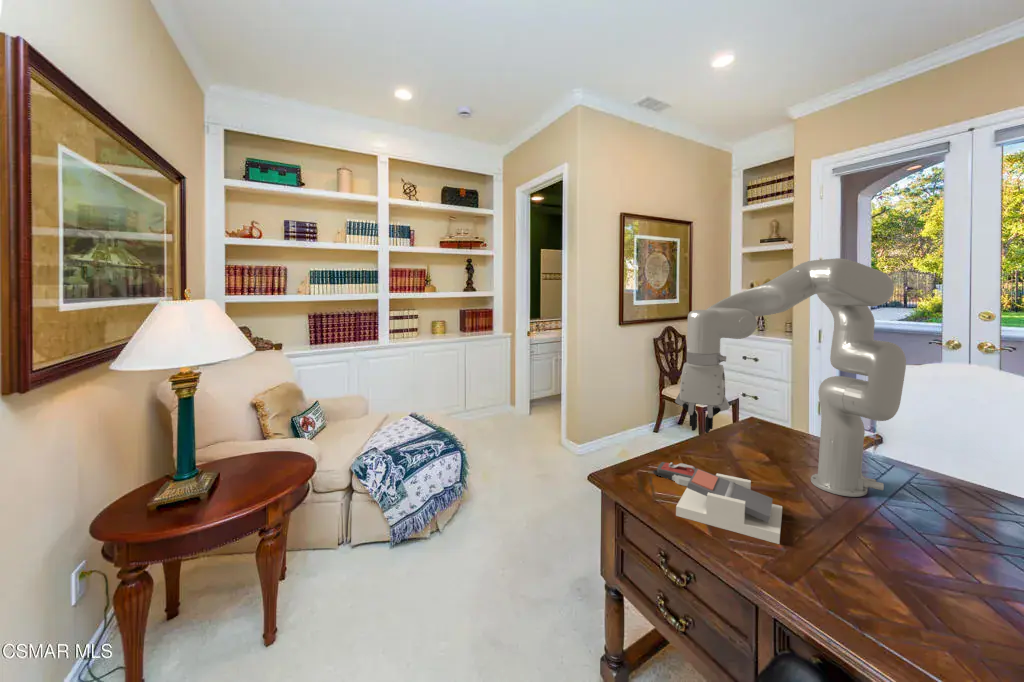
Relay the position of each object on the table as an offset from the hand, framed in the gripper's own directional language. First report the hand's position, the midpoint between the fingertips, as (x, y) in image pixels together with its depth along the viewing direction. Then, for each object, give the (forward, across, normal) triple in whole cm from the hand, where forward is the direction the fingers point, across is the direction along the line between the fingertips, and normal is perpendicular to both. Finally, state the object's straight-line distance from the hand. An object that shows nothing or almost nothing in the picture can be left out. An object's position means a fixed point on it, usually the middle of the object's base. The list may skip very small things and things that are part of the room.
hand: (700, 429), depth 105 cm
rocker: (+15, -7, 0) cm, 17 cm away
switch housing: (+21, -7, 0) cm, 22 cm away
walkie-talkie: (+22, +6, -15) cm, 27 cm away
